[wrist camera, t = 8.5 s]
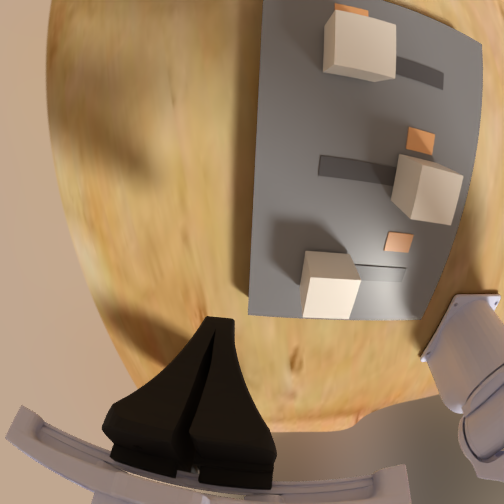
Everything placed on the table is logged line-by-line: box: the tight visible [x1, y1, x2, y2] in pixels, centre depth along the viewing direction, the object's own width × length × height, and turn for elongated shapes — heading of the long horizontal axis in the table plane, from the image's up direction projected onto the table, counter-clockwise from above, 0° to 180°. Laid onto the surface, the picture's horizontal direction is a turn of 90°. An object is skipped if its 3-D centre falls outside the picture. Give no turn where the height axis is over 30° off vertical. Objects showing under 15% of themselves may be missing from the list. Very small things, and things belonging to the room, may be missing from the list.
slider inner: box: [299, 251, 361, 319], centre depth 17 cm, size 3×3×3 cm
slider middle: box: [391, 154, 463, 225], centre depth 13 cm, size 3×3×3 cm
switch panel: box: [248, 0, 483, 320], centre depth 16 cm, size 23×15×2 cm, turn 177°
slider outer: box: [323, 10, 396, 82], centre depth 10 cm, size 3×3×3 cm
